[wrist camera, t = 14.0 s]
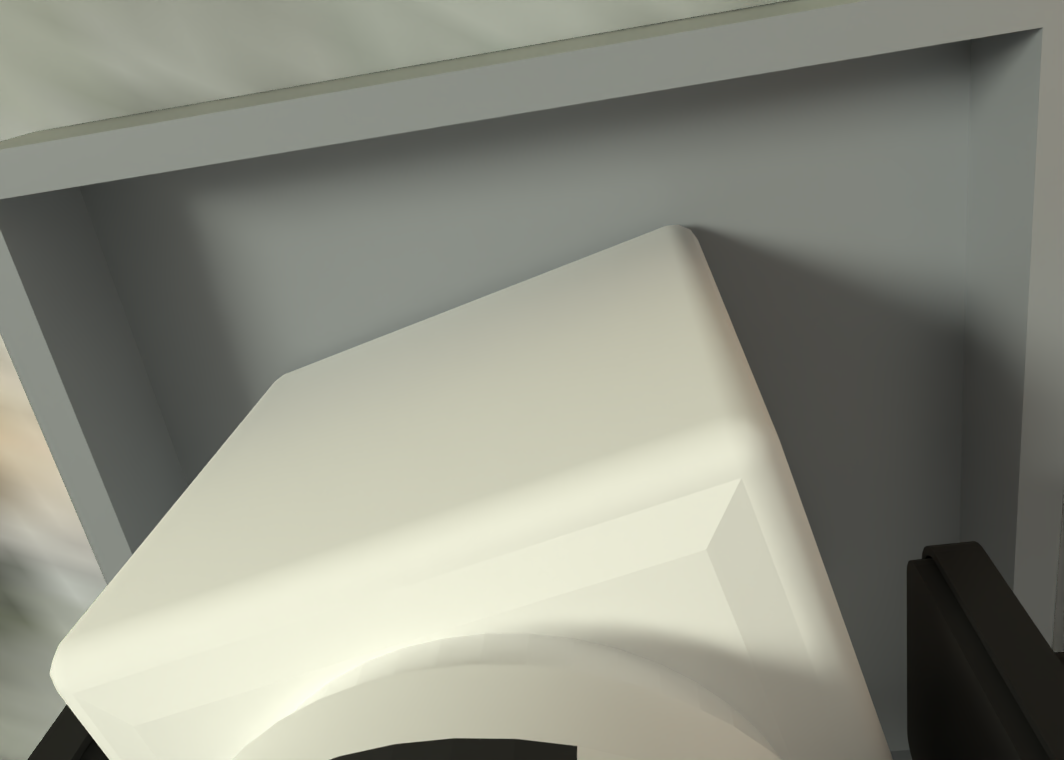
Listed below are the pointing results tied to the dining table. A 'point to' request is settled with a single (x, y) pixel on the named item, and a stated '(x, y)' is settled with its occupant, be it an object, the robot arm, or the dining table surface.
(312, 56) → the dining table surface
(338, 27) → the dining table surface
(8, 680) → the dining table surface
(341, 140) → the grey square tray
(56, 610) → the dining table surface
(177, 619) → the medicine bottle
